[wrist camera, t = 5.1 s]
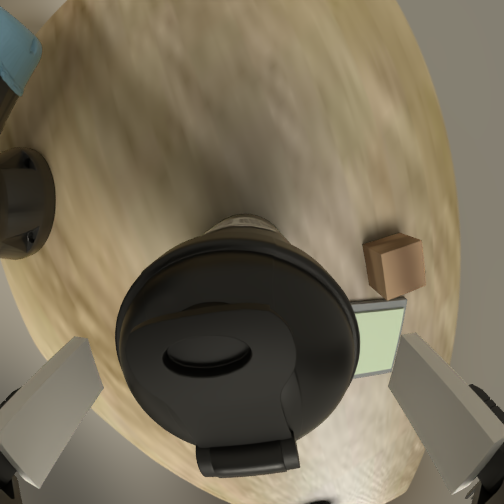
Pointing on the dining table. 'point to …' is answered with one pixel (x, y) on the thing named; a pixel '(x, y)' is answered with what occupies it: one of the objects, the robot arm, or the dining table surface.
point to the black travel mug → (238, 346)
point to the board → (378, 334)
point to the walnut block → (395, 265)
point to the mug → (321, 502)
